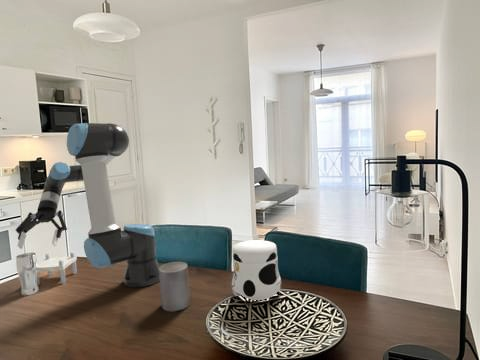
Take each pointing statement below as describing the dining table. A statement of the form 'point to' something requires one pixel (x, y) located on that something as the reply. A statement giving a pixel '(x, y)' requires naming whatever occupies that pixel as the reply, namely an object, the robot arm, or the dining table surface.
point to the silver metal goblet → (27, 273)
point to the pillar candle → (174, 286)
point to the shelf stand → (57, 265)
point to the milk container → (255, 270)
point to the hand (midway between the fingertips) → (37, 245)
